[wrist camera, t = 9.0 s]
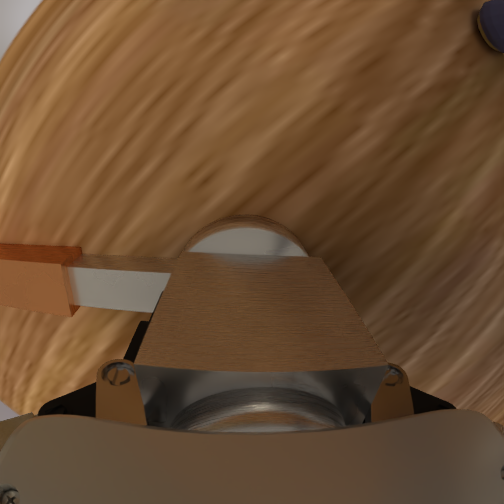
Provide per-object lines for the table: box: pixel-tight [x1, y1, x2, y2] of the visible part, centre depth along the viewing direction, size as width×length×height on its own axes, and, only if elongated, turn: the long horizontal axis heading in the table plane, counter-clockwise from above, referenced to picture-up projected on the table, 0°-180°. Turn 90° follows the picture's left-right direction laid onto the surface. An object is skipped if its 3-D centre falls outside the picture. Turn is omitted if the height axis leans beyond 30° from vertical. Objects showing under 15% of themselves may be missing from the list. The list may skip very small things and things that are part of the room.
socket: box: [134, 252, 388, 432], centre depth 9 cm, size 6×6×8 cm
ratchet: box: [0, 215, 309, 317], centre depth 13 cm, size 20×7×6 cm, turn 87°
